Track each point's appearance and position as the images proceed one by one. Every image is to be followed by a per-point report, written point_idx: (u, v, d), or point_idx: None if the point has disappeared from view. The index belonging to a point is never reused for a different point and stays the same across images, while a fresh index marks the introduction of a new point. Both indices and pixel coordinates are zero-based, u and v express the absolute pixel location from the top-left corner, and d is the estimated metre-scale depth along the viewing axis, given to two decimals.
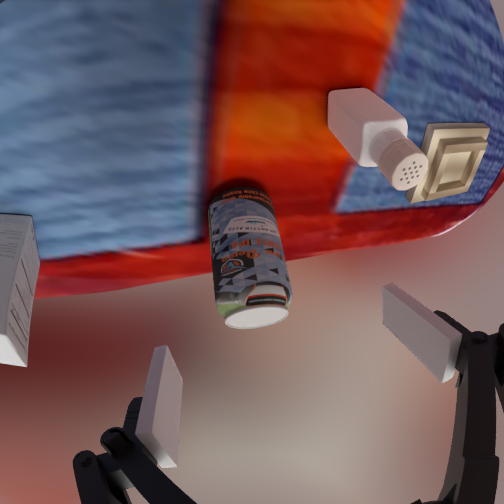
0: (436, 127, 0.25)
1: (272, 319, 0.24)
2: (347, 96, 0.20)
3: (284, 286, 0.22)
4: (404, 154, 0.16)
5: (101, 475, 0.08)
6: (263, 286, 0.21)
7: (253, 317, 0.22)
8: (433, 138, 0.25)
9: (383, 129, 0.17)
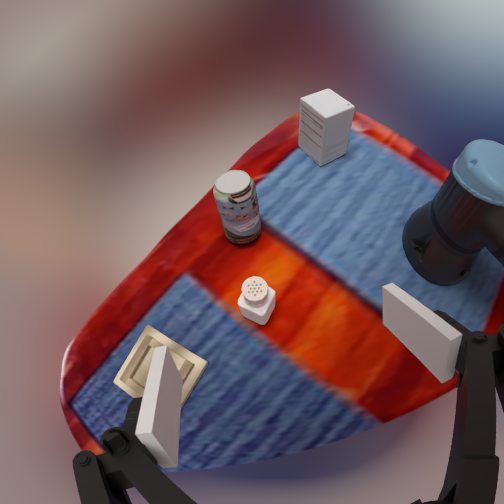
0: (205, 366, 0.40)
1: (220, 185, 0.41)
2: (273, 306, 0.42)
3: (237, 203, 0.40)
4: (268, 288, 0.36)
5: (101, 475, 0.08)
6: (248, 197, 0.40)
7: (235, 180, 0.41)
8: (199, 358, 0.40)
9: (269, 297, 0.38)
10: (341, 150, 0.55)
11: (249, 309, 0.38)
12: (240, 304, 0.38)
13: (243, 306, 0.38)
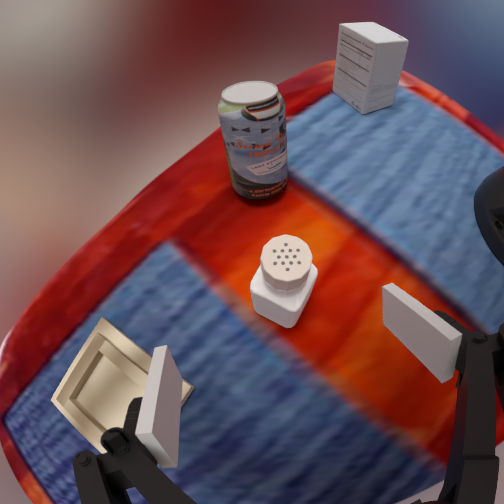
0: (187, 393, 0.23)
1: (230, 95, 0.23)
2: (309, 296, 0.25)
3: (256, 120, 0.23)
4: None
5: (101, 475, 0.08)
6: (275, 113, 0.23)
7: (254, 90, 0.23)
8: None
9: (307, 278, 0.21)
10: (389, 98, 0.37)
11: (271, 299, 0.20)
12: (255, 289, 0.21)
13: (260, 293, 0.21)
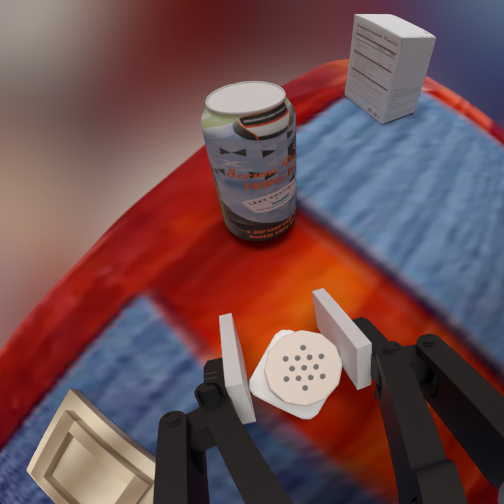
0: None
1: (218, 102, 0.16)
2: None
3: (254, 138, 0.16)
4: (341, 366, 0.11)
5: (186, 439, 0.09)
6: (282, 128, 0.16)
7: (251, 95, 0.16)
8: None
9: None
10: (411, 105, 0.31)
11: (278, 405, 0.13)
12: (255, 391, 0.14)
13: (263, 397, 0.14)
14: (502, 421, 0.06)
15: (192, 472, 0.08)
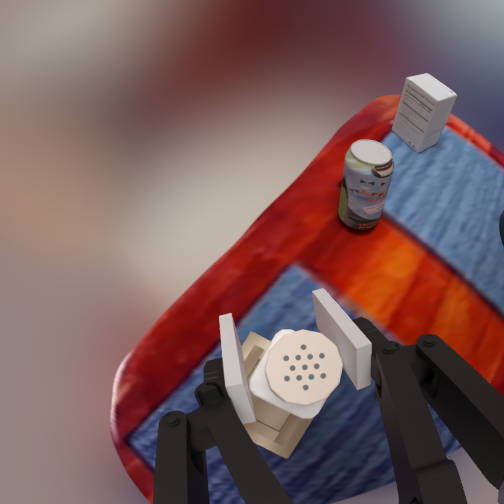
0: None
1: (359, 153, 0.31)
2: None
3: (380, 177, 0.30)
4: (341, 366, 0.11)
5: (186, 439, 0.09)
6: (391, 171, 0.31)
7: (374, 151, 0.31)
8: None
9: None
10: (436, 138, 0.45)
11: (279, 405, 0.13)
12: (256, 391, 0.14)
13: (263, 397, 0.14)
14: (502, 421, 0.06)
15: (192, 472, 0.08)
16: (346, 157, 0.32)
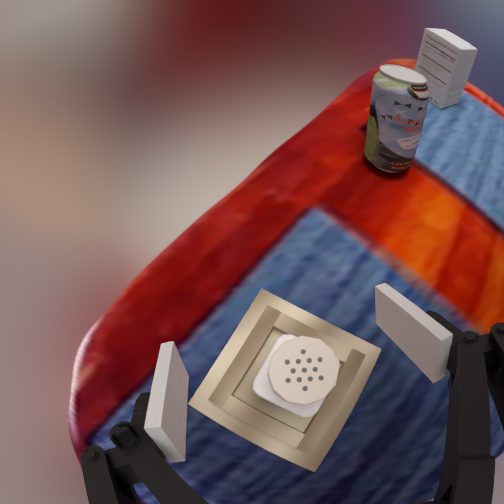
0: None
1: (390, 73, 0.22)
2: None
3: (417, 98, 0.22)
4: (338, 369, 0.12)
5: (109, 470, 0.08)
6: (428, 96, 0.22)
7: (406, 73, 0.22)
8: (368, 345, 0.21)
9: None
10: (457, 97, 0.37)
11: (280, 405, 0.14)
12: (259, 391, 0.15)
13: (266, 397, 0.15)
14: None
15: (124, 501, 0.07)
16: (375, 78, 0.24)
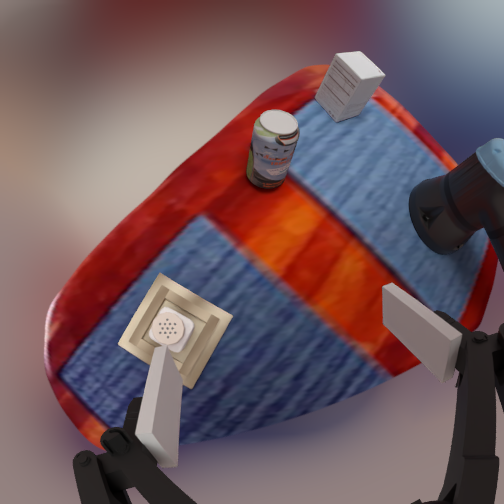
0: (229, 321, 0.38)
1: (266, 122, 0.35)
2: None
3: (283, 145, 0.35)
4: (184, 329, 0.27)
5: (101, 475, 0.08)
6: (295, 141, 0.36)
7: (281, 121, 0.35)
8: (224, 312, 0.38)
9: (185, 331, 0.30)
10: (358, 111, 0.52)
11: (162, 344, 0.29)
12: (151, 337, 0.30)
13: (155, 340, 0.29)
14: None
15: None
16: (255, 124, 0.36)
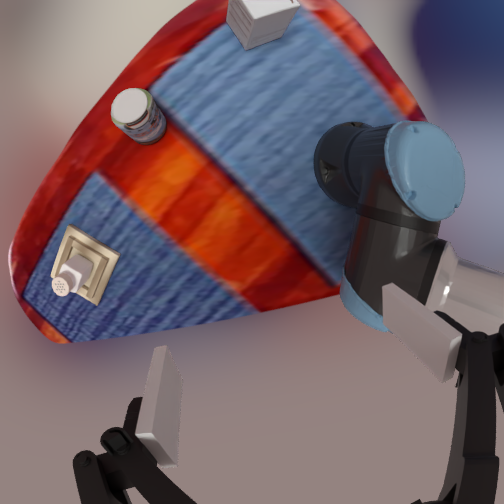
0: (117, 259, 0.48)
1: (117, 109, 0.32)
2: (89, 270, 0.45)
3: (133, 129, 0.34)
4: (69, 286, 0.38)
5: (101, 475, 0.08)
6: (145, 122, 0.34)
7: (132, 104, 0.32)
8: (112, 253, 0.47)
9: (76, 281, 0.41)
10: (275, 36, 0.40)
11: None
12: None
13: None
14: None
15: None
16: None
